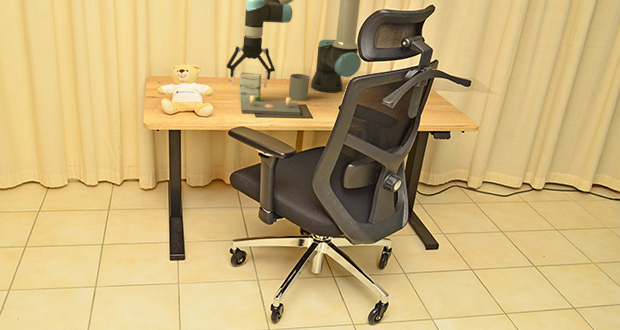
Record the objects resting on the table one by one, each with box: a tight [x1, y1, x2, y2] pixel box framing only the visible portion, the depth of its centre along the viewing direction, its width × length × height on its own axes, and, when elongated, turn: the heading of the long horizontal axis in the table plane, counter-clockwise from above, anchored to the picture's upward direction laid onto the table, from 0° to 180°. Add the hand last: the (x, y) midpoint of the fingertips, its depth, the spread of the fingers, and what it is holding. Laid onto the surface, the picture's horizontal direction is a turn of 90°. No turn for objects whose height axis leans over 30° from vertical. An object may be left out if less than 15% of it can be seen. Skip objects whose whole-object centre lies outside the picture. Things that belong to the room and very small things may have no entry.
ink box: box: [238, 72, 262, 102], centre depth 258 cm, size 9×5×12 cm, turn 84°
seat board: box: [240, 96, 301, 117], centre depth 251 cm, size 24×12×6 cm, turn 98°
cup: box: [288, 73, 310, 102], centre depth 268 cm, size 8×8×10 cm
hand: (249, 85), depth 258 cm, fingers open, 13 cm apart
